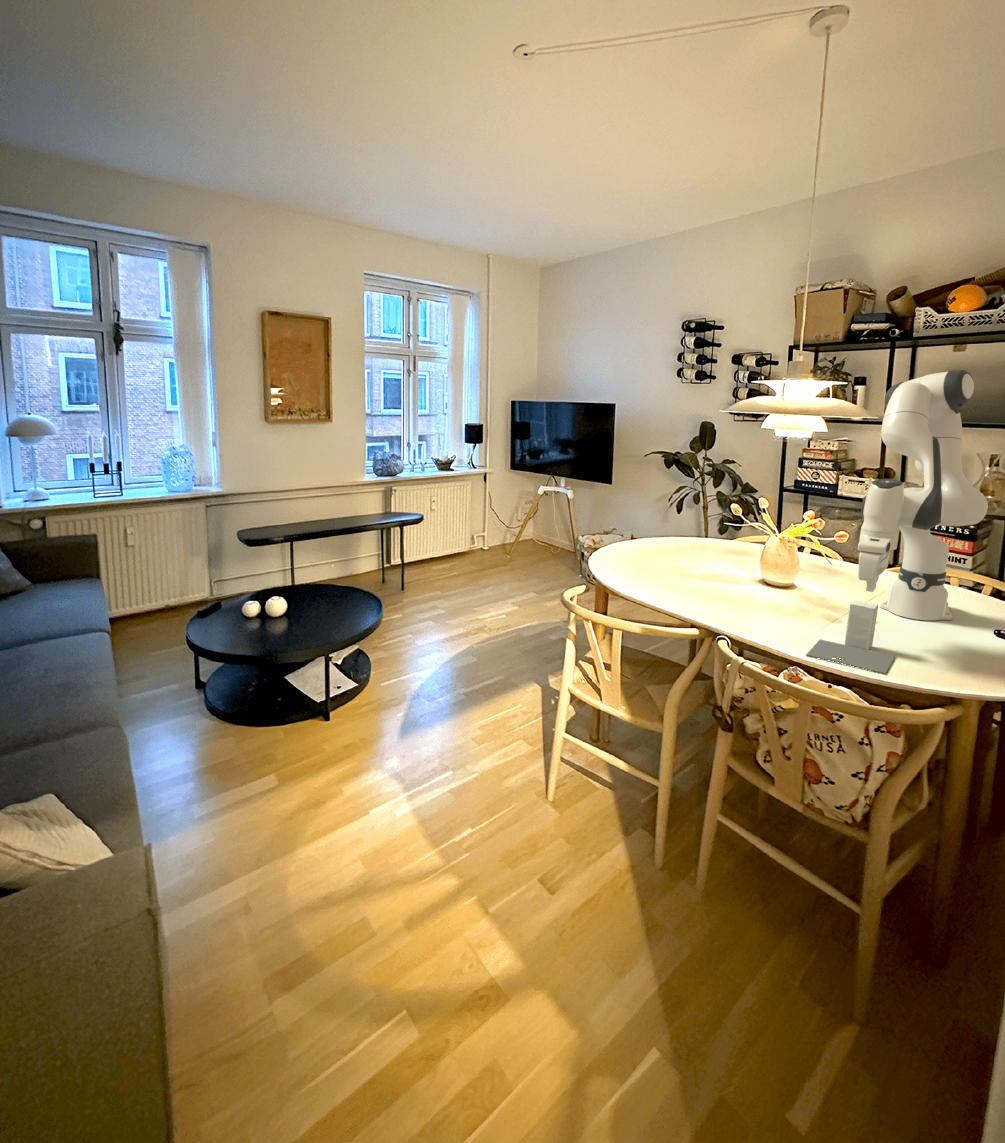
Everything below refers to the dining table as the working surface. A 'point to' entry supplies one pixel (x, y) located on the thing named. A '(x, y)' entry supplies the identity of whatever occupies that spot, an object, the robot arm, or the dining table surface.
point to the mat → (852, 656)
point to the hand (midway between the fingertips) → (870, 590)
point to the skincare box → (861, 624)
